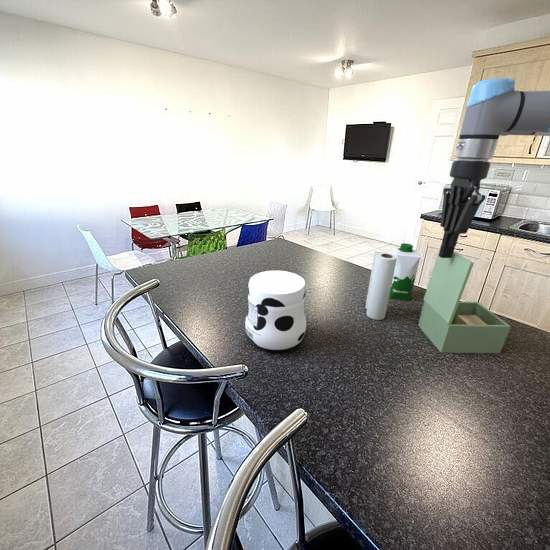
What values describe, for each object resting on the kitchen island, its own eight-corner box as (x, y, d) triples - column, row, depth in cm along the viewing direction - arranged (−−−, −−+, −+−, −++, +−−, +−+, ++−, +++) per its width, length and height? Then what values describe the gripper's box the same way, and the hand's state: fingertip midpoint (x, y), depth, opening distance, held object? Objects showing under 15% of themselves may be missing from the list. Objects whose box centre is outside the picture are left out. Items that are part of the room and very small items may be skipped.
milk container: (311, 327, 90) (315, 274, 83) (295, 363, 75) (299, 301, 68) (259, 316, 95) (259, 265, 88) (235, 347, 80) (232, 289, 73)
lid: (443, 245, 82) (440, 245, 82) (474, 262, 70) (470, 262, 70) (425, 299, 89) (423, 299, 89) (451, 324, 76) (448, 324, 76)
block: (470, 330, 89) (475, 315, 87) (482, 342, 84) (488, 325, 82) (452, 330, 89) (457, 314, 87) (463, 342, 84) (469, 325, 81)
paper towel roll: (386, 321, 94) (399, 259, 86) (366, 319, 95) (377, 257, 87) (383, 310, 101) (394, 251, 92) (365, 308, 102) (375, 250, 93)
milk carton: (407, 293, 113) (418, 244, 105) (411, 304, 105) (424, 252, 97) (383, 290, 115) (393, 242, 107) (386, 301, 107) (396, 249, 99)
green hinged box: (469, 325, 93) (477, 301, 89) (500, 353, 81) (511, 326, 77) (417, 325, 93) (424, 300, 89) (440, 352, 80) (449, 325, 77)
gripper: (440, 158, 73) (419, 248, 82) (473, 160, 61) (444, 266, 70) (470, 159, 73) (445, 249, 82) (509, 161, 61) (475, 266, 70)
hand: (445, 256), depth 76 cm, fingers closed
